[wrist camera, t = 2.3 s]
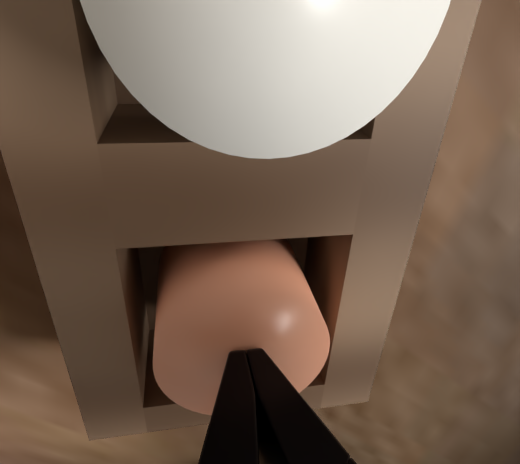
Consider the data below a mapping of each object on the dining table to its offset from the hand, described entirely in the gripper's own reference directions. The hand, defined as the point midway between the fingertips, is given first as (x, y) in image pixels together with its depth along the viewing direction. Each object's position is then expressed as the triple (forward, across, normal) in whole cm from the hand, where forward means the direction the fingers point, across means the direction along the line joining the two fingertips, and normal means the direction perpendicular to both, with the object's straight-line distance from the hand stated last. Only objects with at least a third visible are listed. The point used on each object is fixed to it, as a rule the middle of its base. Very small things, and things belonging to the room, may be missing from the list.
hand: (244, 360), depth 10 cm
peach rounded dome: (+4, 0, 0) cm, 4 cm away
